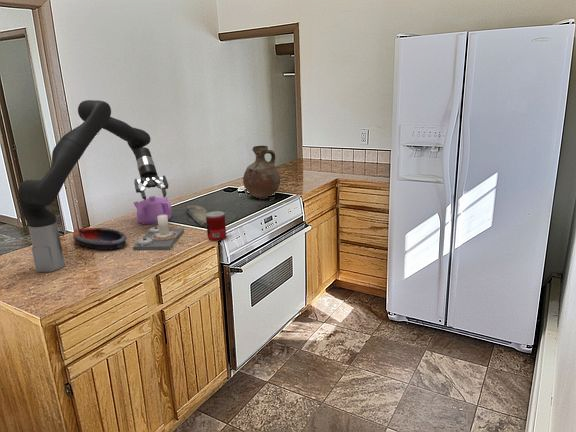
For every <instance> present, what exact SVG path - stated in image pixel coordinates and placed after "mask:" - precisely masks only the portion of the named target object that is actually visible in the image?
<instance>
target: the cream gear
mask: <svg viewBox="0 0 576 432" xmlns="http://www.w3.org/2000/svg"><path fill="white" fill-rule="evenodd" d="M157 219H158V224H157V226H158V227H159V233H158V234H155V237H156V239H167V238H171V237H174V233H173V232H172V231H171V232H169V229H170V227H169V219H168V217H167V215H159V216H157Z"/></svg>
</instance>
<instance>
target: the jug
mask: <svg viewBox="0 0 576 432" xmlns="http://www.w3.org/2000/svg"><path fill="white" fill-rule="evenodd" d="M251 151H253V153H254V154H255V155H254V156H255V161H254V162H253V163H251V164H249V165H248V166H247V167H246V169H245V171H244V175H243V178H242V183H243V186H244V188H245V190H246V191H247V192H248V194H249V195H251V196H252V197H254V198H255V197H256V198H265V197H268V196H270V195H271V196H273V195H274V194H275V193H276V192H277V191H278V189H279V188H280V186H281V185H280V184H281V176H280V172H279V171H278V168H277V167H276V165H275V163H276V154H275V151H274V150H272V149H269V146H267V145H254V146H253V147H252V149H251ZM266 154H270V155H271V158H270V161H267V160H266V158H265V157H266V156H265V155H266ZM272 194H273V195H272ZM256 198H255V199H256Z"/></svg>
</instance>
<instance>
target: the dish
mask: <svg viewBox="0 0 576 432" xmlns="http://www.w3.org/2000/svg"><path fill="white" fill-rule="evenodd" d="M72 236H73V239H74V240H75V241H76V242H77V244H79V245H81V246H83V247H86V248H90V249H95V250H114V249H119V248H122V247H124V245H125V243H126V240H127V239H128V238H127V235H126V234H125V233H124V232H123V231H120V230H116V229H111V228H107V227H85V228H77V229H75V230H74V233H73V234H72Z"/></svg>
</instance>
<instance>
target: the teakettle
mask: <svg viewBox="0 0 576 432" xmlns="http://www.w3.org/2000/svg"><path fill="white" fill-rule="evenodd" d="M133 205H134V207H135V208H136V219H137V220H136V221H137V223H138V224H140V223H144V224H143V225H150V224H157V225H158V219H157V216H159V215H167V217H168V220H170V219H171V217H172V214H173V211H172V204H171V202H170V201H169V200H168V197H166V196H165V197H157V196H154V195H152V196H149V197H148V198H146V200H144V199H142V200H141V201H139V202H138V201H134V202H133Z"/></svg>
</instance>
